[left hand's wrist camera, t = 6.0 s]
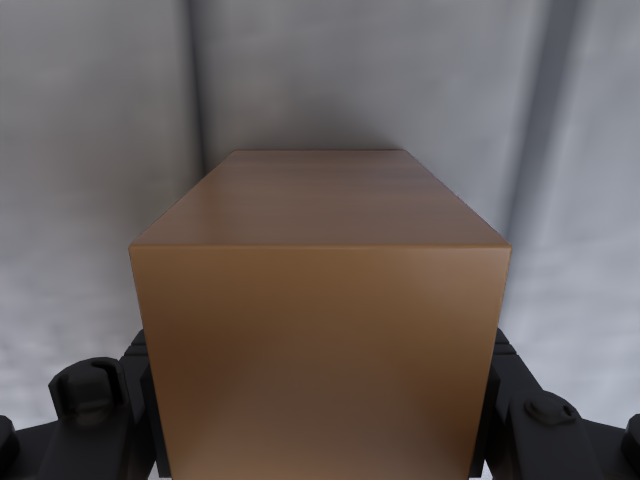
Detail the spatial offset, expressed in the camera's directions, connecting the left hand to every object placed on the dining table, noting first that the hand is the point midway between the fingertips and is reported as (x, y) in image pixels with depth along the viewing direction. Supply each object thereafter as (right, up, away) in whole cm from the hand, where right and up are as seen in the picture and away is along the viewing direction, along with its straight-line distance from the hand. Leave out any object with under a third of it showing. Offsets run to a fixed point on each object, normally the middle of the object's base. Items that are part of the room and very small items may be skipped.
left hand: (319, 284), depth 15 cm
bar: (0, -21, +9) cm, 23 cm away
